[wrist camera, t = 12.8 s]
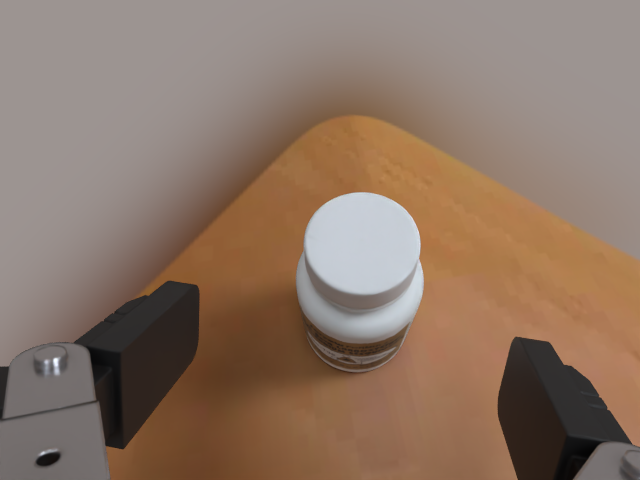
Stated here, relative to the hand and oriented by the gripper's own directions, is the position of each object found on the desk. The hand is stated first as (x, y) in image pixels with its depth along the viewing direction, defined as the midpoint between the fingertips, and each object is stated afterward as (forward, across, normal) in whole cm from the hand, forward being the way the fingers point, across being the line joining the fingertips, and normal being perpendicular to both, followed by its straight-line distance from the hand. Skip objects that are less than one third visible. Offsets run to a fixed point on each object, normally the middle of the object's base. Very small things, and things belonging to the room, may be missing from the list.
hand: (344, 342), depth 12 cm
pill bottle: (+8, 0, +4) cm, 9 cm away
